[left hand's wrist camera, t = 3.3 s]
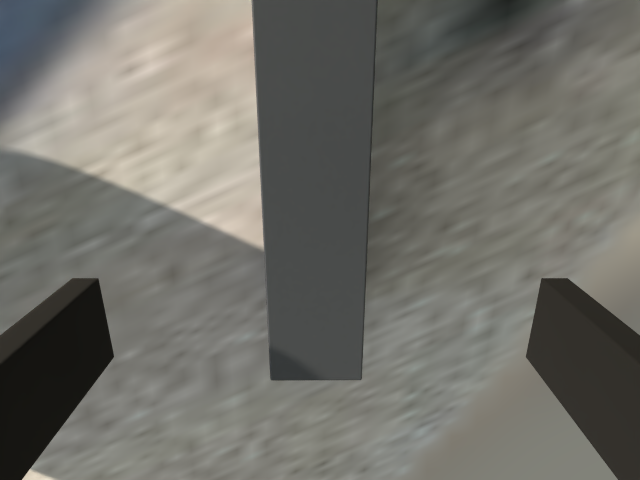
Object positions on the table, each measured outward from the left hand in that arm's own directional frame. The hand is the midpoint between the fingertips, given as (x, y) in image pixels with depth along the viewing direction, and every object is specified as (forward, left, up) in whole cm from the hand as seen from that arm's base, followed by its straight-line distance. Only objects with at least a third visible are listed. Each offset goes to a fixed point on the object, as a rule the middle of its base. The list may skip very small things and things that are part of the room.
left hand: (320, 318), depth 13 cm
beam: (+10, +31, -14) cm, 35 cm away
